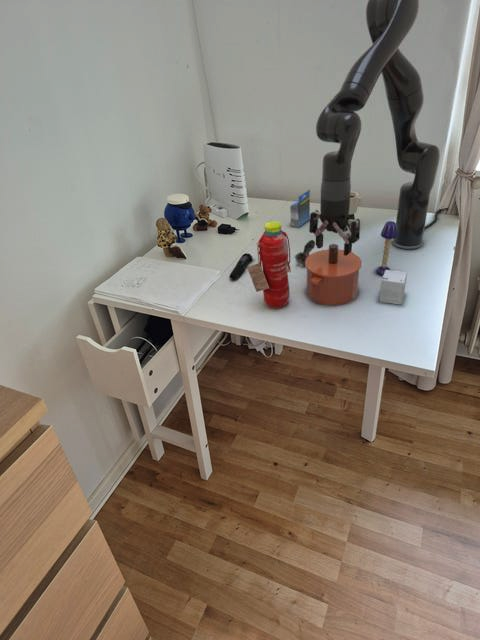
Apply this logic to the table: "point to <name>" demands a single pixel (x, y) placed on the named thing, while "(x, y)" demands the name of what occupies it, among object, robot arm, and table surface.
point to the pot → (332, 288)
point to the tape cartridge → (300, 210)
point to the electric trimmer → (240, 266)
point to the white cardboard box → (393, 287)
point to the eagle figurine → (306, 251)
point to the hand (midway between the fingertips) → (332, 250)
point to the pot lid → (332, 263)
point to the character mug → (353, 206)
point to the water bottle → (272, 266)
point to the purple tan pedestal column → (387, 244)
